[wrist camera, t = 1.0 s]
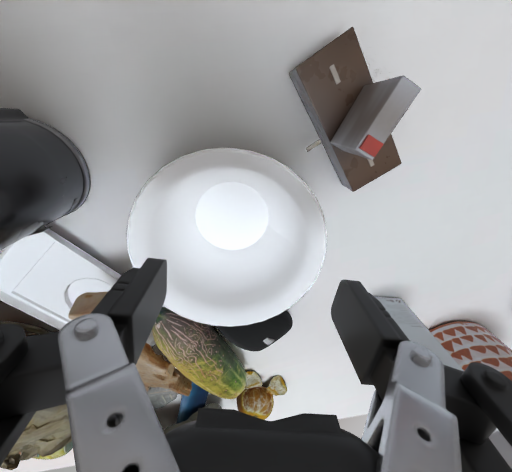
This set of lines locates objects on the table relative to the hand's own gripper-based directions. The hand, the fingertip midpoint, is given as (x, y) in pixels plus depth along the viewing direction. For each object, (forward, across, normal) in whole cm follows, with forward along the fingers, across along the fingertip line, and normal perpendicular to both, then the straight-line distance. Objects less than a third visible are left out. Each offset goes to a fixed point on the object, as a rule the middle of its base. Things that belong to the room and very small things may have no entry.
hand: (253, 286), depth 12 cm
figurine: (+9, +13, +10) cm, 19 cm away
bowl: (+17, +1, +3) cm, 17 cm away
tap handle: (+14, -8, -8) cm, 18 cm away
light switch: (+15, +25, +9) cm, 31 cm away
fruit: (+18, -7, +32) cm, 37 cm away
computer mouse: (+17, -2, +16) cm, 23 cm away
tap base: (+17, -8, -8) cm, 21 cm away
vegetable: (+16, -2, +29) cm, 33 cm away
